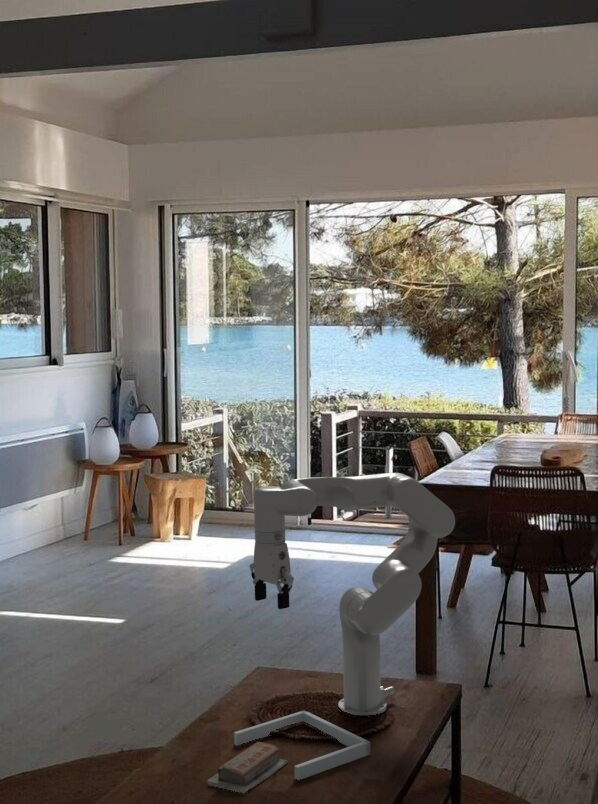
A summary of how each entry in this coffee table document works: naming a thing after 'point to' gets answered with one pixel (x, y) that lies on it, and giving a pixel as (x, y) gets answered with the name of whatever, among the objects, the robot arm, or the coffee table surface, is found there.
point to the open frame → (355, 743)
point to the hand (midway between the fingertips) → (272, 603)
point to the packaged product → (248, 768)
